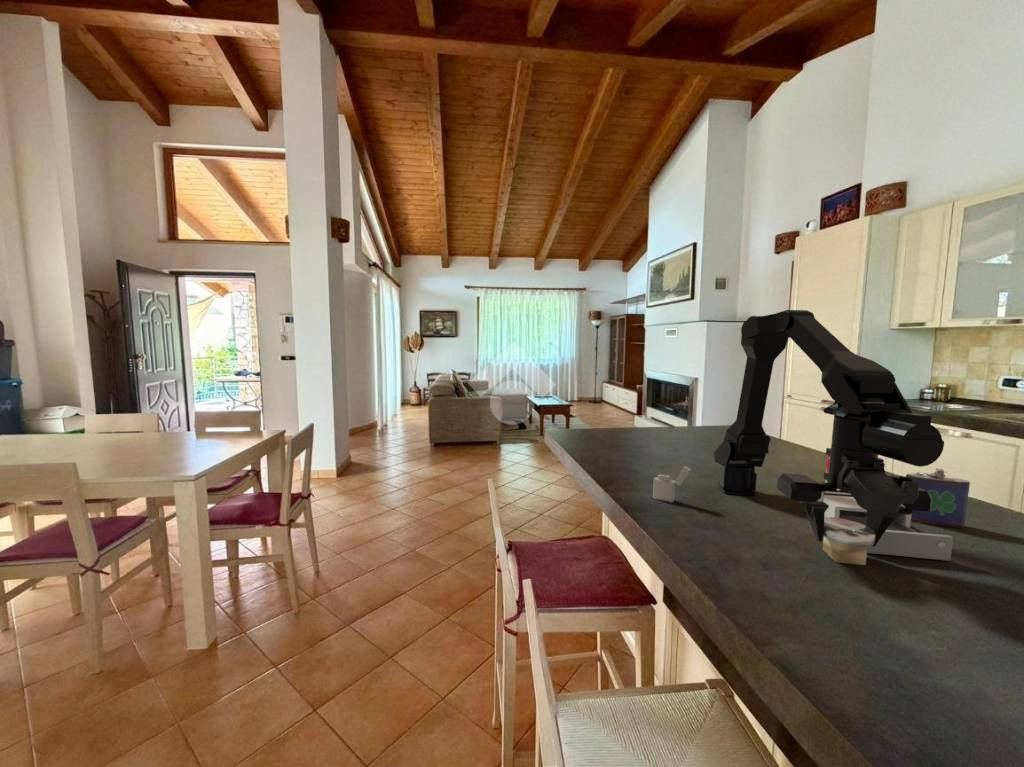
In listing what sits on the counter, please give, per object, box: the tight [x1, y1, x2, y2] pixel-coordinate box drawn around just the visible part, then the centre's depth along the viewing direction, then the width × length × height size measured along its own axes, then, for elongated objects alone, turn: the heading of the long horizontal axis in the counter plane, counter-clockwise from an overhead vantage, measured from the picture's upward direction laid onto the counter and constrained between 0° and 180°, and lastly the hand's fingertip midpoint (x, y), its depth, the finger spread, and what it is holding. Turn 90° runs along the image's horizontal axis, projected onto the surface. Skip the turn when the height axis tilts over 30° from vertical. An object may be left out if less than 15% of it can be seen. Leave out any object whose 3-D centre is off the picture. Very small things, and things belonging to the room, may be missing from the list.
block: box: [822, 536, 868, 566], centre depth 67 cm, size 4×4×4 cm
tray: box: [839, 515, 954, 561], centre depth 72 cm, size 12×11×4 cm
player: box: [823, 489, 912, 528], centre depth 81 cm, size 12×11×4 cm
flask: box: [905, 468, 971, 529], centre depth 80 cm, size 9×3×11 cm, turn 68°
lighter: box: [652, 465, 692, 503], centre depth 89 cm, size 7×2×8 cm, turn 58°
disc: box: [823, 517, 876, 547], centre depth 66 cm, size 7×7×2 cm
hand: (844, 543), depth 66 cm, fingers closed on disc, 7 cm apart
